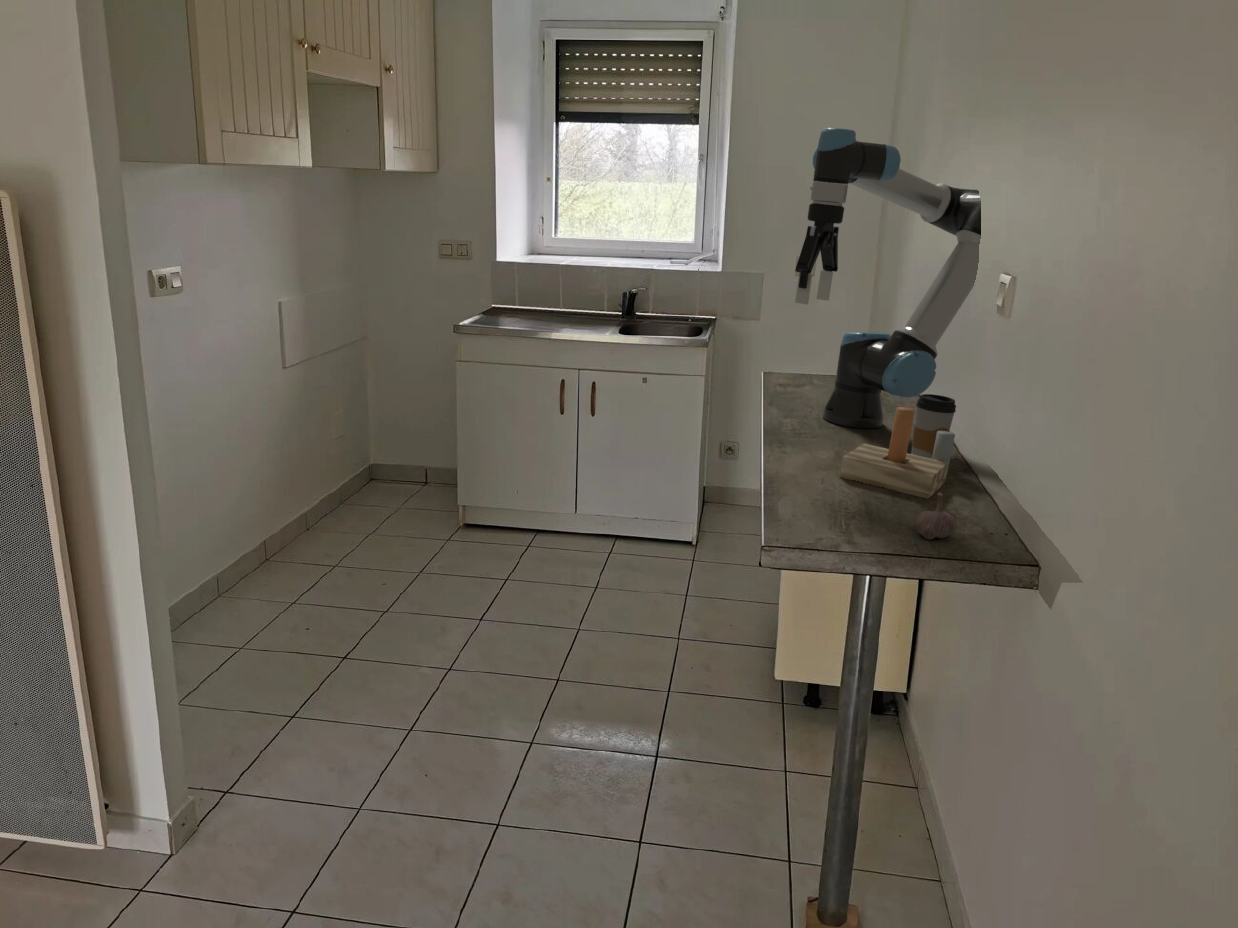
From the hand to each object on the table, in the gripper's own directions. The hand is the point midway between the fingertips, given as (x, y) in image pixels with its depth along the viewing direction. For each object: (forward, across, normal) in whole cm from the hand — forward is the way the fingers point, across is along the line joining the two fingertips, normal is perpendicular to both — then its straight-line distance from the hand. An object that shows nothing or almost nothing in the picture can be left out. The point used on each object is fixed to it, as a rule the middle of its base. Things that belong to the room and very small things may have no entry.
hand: (812, 301), depth 214 cm
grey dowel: (+32, +6, +35) cm, 48 cm away
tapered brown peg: (+31, +15, +28) cm, 44 cm away
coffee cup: (+32, -4, +30) cm, 44 cm away
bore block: (+32, +15, +28) cm, 45 cm away
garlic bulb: (+32, +43, +43) cm, 69 cm away
